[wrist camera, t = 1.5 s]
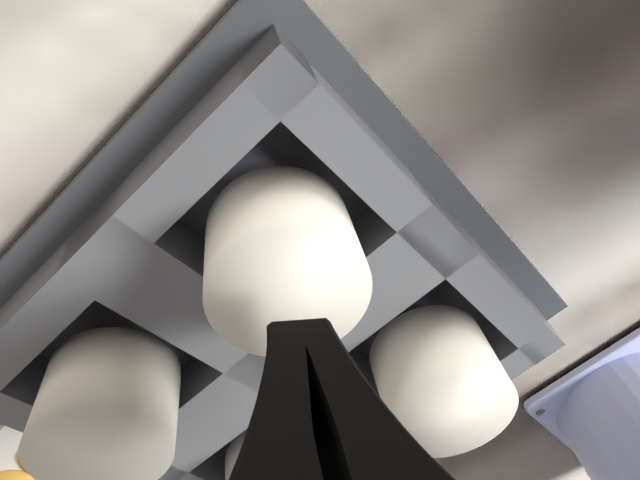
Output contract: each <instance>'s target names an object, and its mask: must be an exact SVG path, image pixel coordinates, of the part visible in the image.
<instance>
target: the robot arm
mask: <svg viewBox="0 0 640 480" xmlns="http://www.w3.org/2000/svg"><path fill="white" fill-rule="evenodd" d="M524 408H525V410H526V411H527V413H528V414H529V415H531V416H532V417H533V418H534V419H535V420H537V421H538V422H539V423H540V424H541V425H542V426H544V427H545V428H546V429H547V430H548V431H550V432H551V433H552V434H553V435H554V436H556V437H557V438H558V439H559V440H560V441H561V442H563V443H564V444H565V445H566V446H567V447H569V448H570V449H571V450H572V451H573V452H574V453H575V455H576V457H577V458H578V460H579V461H580V463H581V465H582V466H583V468H584V469H585V471H586V473H587V474H588V476H589V477H590V479H591V480H640V327H639V328H638V329H636V330H635V331H633V332H632V333H630V334H628V335H627V336H625V337H624V338H622V339H621V340H619V341H617V342H616V343H614V344H613V345H611V346H610V347H608V348H607V349H605V350H603V351H602V352H600V353H599V354H597V355H596V356H594V357H592V358H591V359H589V360H588V361H586V362H585V363H583V364H581V365H580V366H578V367H577V368H575V369H574V370H572V371H571V372H569V373H567V374H566V375H564V376H563V377H561V378H560V379H558V380H556V381H555V382H553V383H552V384H550V385H549V386H547V387H546V388H544V389H542V390H541V391H539V392H538V393H536V394H535V395H533V396H531V397H530V398H528V399H527V400H526V401H525V402H524ZM229 480H455V479H454V478H453V477H452V476H451V475H450V474H449V473H448V472H447V471H446V470H445V469H444V468H443V467H442V466H441V465H440V464H438V463H437V462H436V461H435V460H434V459H433V458H432V457H431V455H430V454H429V453H428V452H427V451H426V450H425V449H424V448H423V447H422V446H421V445H420V444H419V443H418V442H417V441H416V440H415V439H414V437H413V436H412V435H411V434H410V433H409V432H408V431H407V430H406V428H405V427H404V426H403V425H402V424H401V423H400V421H399V420H398V419H397V418H396V417H395V415H394V414H393V413H392V412H391V410H390V409H389V408H388V407H387V406H386V404H385V403H384V402H383V401H382V399H381V398H380V397H379V395H378V394H377V393H376V391H375V390H374V389H373V387H372V386H371V385H370V383H369V382H368V380H367V379H366V378H365V376H364V375H363V374H362V372H361V371H360V369H359V368H358V366H357V365H356V363H355V362H354V360H353V359H352V357H351V356H350V354H349V353H348V351H347V350H346V348H345V346H344V345H343V343H342V342H341V340H340V338H339V336H338V335H337V333H336V331H335V329H334V328H333V326H332V324H331V322H330V321H329V320H328V319H327V318H317V319H302V320H288V321H274V322H271V323H270V324H268V325H267V349H266V357H265V363H264V369H263V374H262V378H261V382H260V387H259V391H258V395H257V399H256V403H255V406H254V409H253V413H252V416H251V419H250V422H249V425H248V429H247V432H246V435H245V438H244V441H243V444H242V446H241V449H240V452H239V455H238V457H237V460H236V462H235V465H234V467H233V470H232V472H231V475H230V477H229Z"/></svg>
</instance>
